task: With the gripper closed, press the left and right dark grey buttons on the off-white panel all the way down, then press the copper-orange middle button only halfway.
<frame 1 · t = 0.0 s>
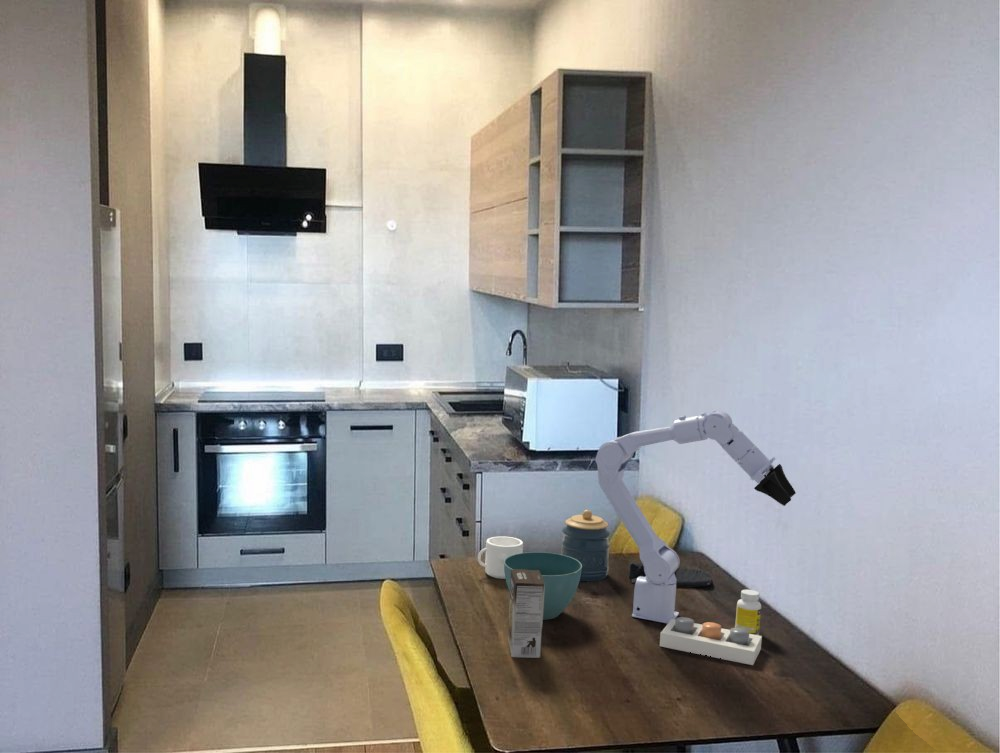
hand: (790, 499, 213), 32 cm above the table, tool tilted 50°, fingers open, 7 cm apart
copper button: (711, 631, 210), point 4 cm above the table, slide at 0.0 cm
supplement bottle: (746, 634, 220), on the table
button panel: (710, 647, 210), on the table
right grey button: (739, 637, 207), point 4 cm above the table, slide at 0.0 cm
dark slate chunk: (669, 581, 257), on the table
canister: (583, 575, 257), on the table
mug: (499, 576, 253), on the table
coffee box: (523, 650, 204), on the table
left grey button: (684, 626, 212), point 4 cm above the table, slide at 0.0 cm
teal bowl: (540, 614, 226), on the table
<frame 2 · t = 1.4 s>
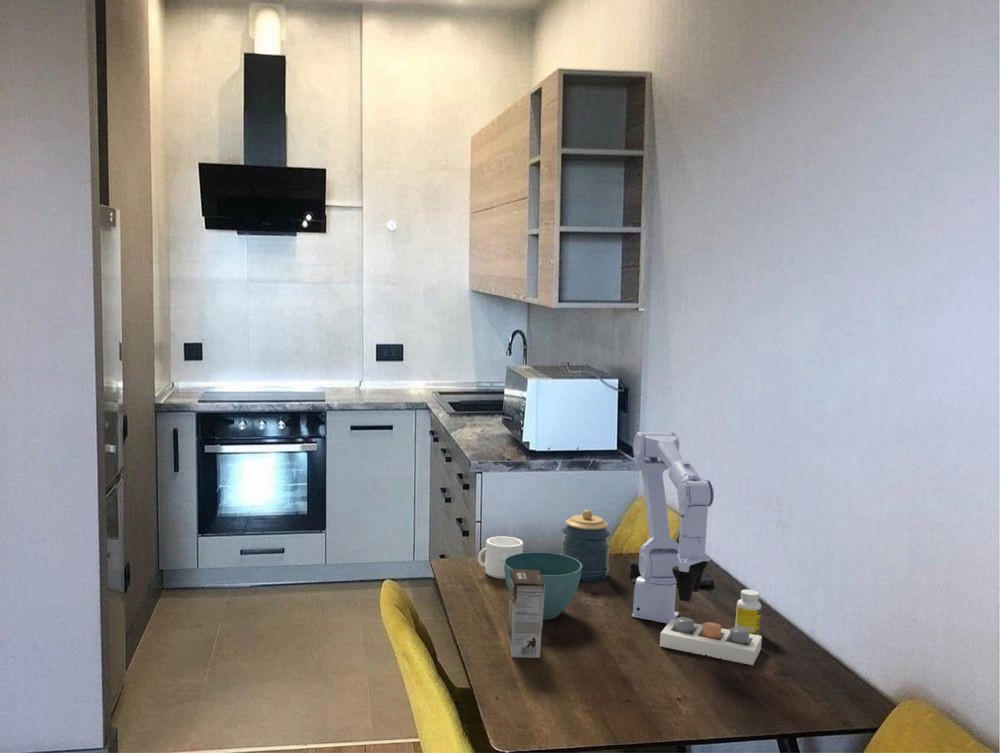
hand: (688, 595, 211), 11 cm above the table, tool pointing down, fingers open, 7 cm apart
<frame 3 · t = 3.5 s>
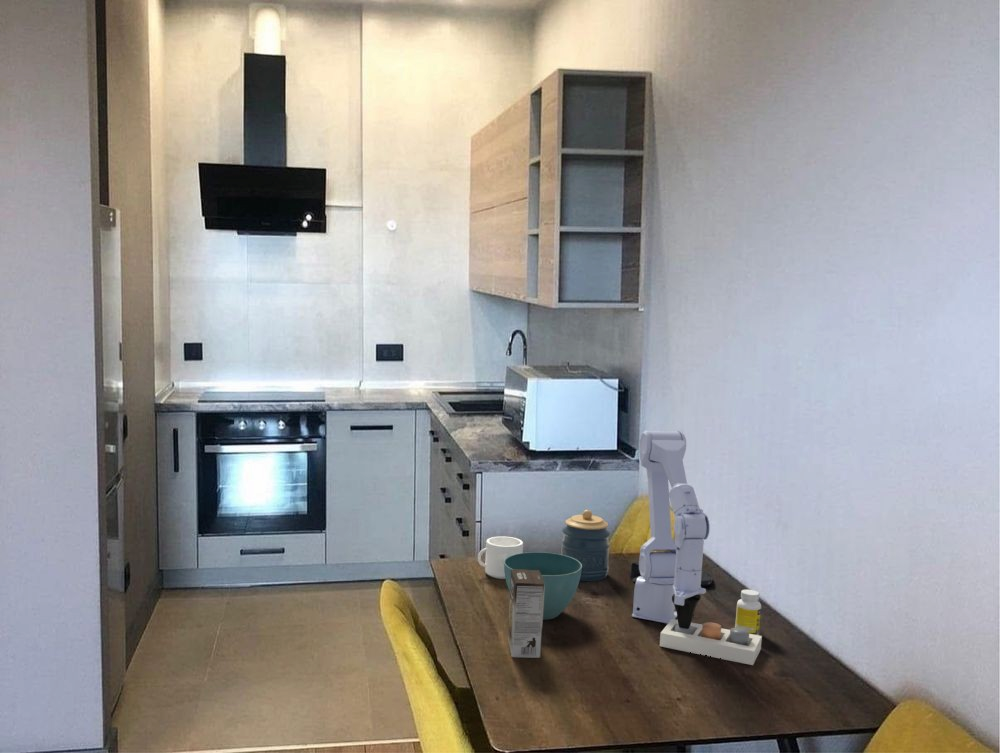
hand: (684, 627, 212), 3 cm above the table, tool pointing down, fingers closed, pressing on left grey button
left grey button: (683, 633, 212), point 2 cm above the table, slide at 1.5 cm, touching gripper
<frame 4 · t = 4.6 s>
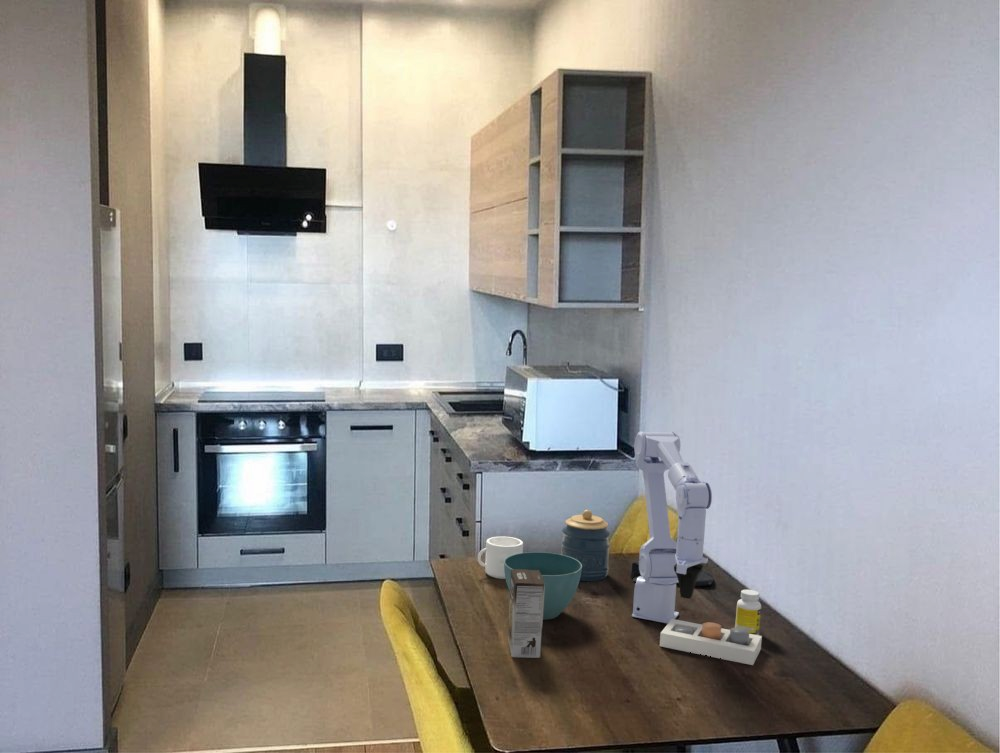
hand: (686, 597, 211), 10 cm above the table, tool pointing down, fingers closed
left grey button: (683, 635, 212), point 2 cm above the table, slide at 2.0 cm
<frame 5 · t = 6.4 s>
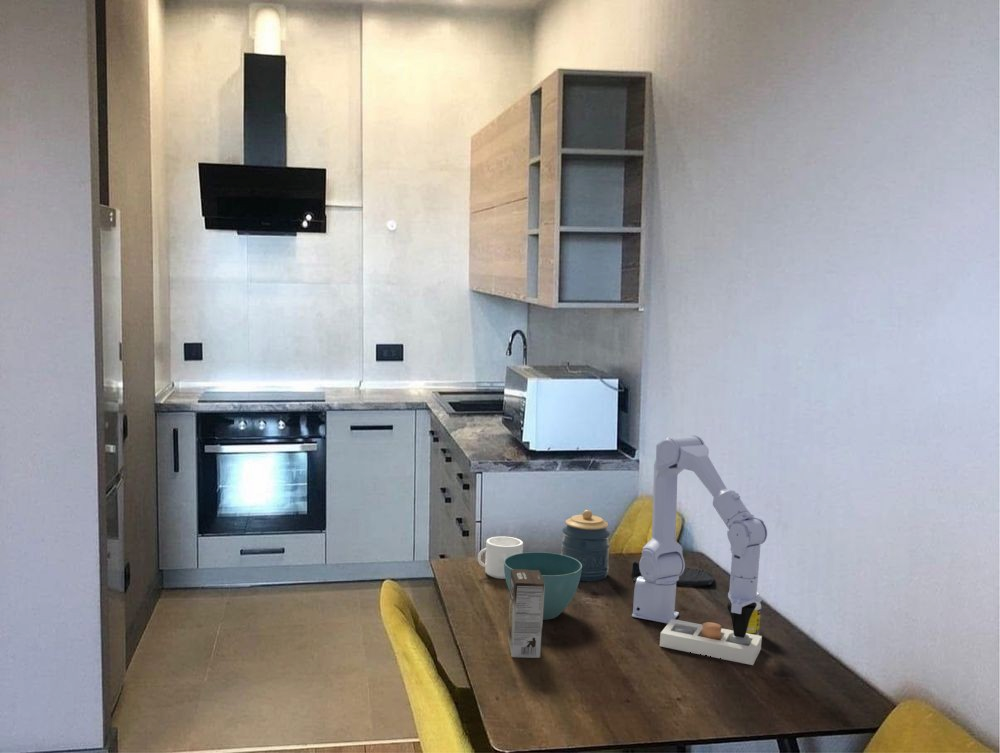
hand: (739, 636, 207), 4 cm above the table, tool pointing down, fingers closed, pressing on right grey button
right grey button: (738, 642, 207), point 3 cm above the table, slide at 1.1 cm, touching gripper
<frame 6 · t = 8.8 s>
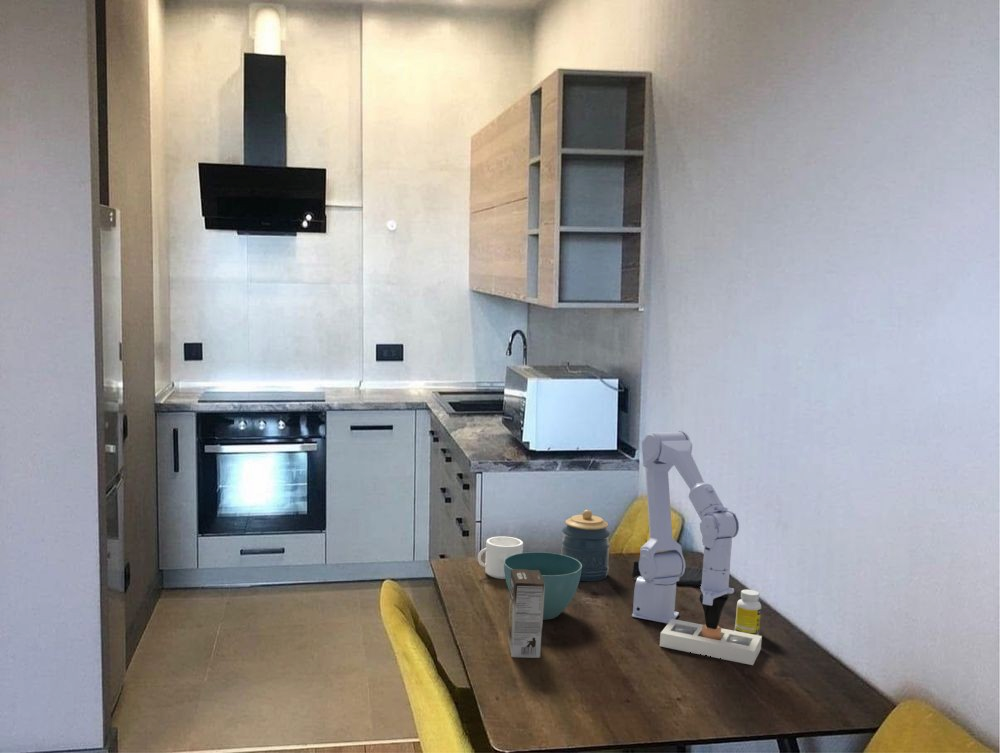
hand: (711, 627, 209), 5 cm above the table, tool pointing down, fingers closed, pressing on copper button
copper button: (711, 633, 210), point 3 cm above the table, slide at 0.4 cm, touching gripper
right grey button: (738, 646, 207), point 2 cm above the table, slide at 2.0 cm
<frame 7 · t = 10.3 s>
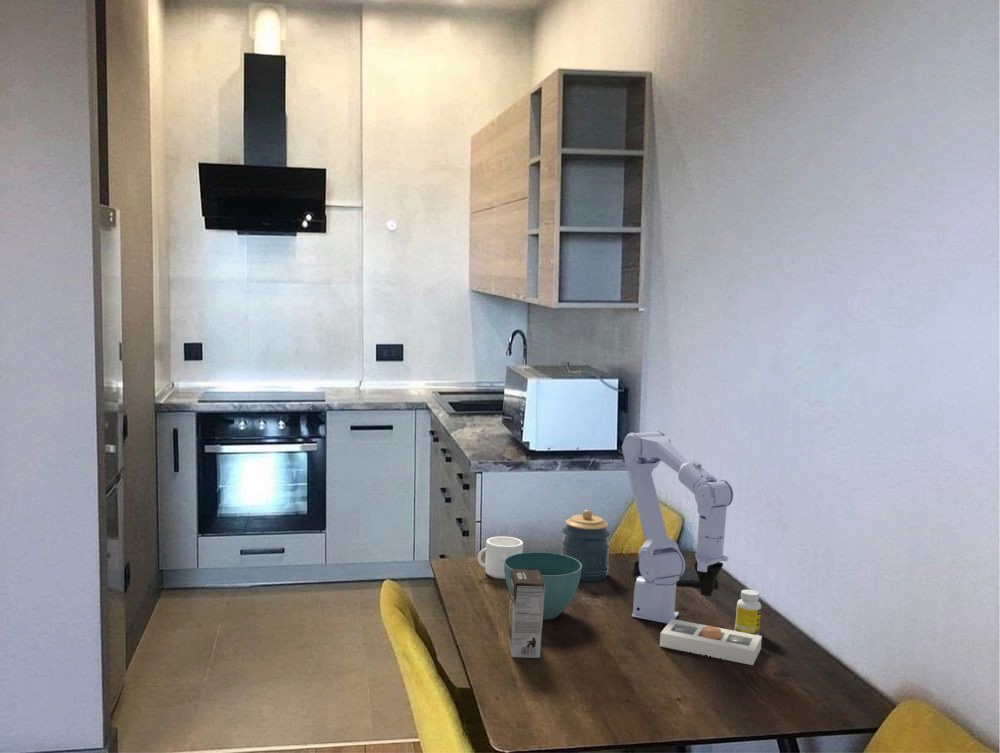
hand: (706, 594, 213), 10 cm above the table, tool pointing down, fingers closed
copper button: (711, 635, 210), point 3 cm above the table, slide at 0.9 cm
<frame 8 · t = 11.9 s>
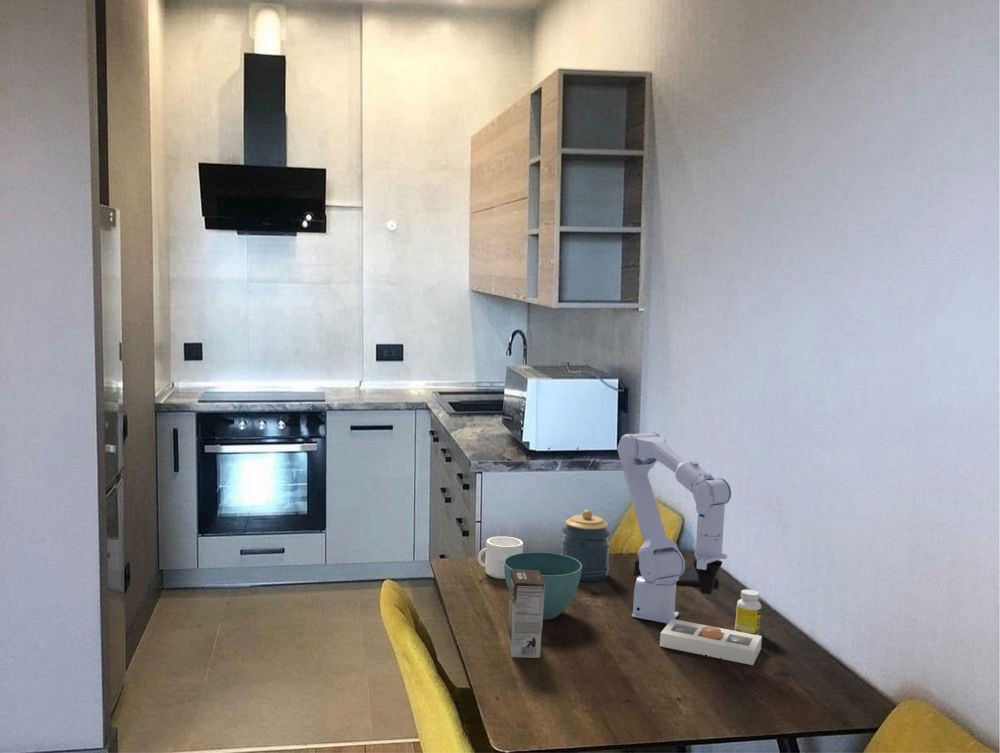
hand: (706, 593, 214), 10 cm above the table, tool pointing down, fingers closed
at the end: left grey button slide at 2.0 cm; right grey button slide at 2.0 cm; copper button slide at 0.9 cm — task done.
